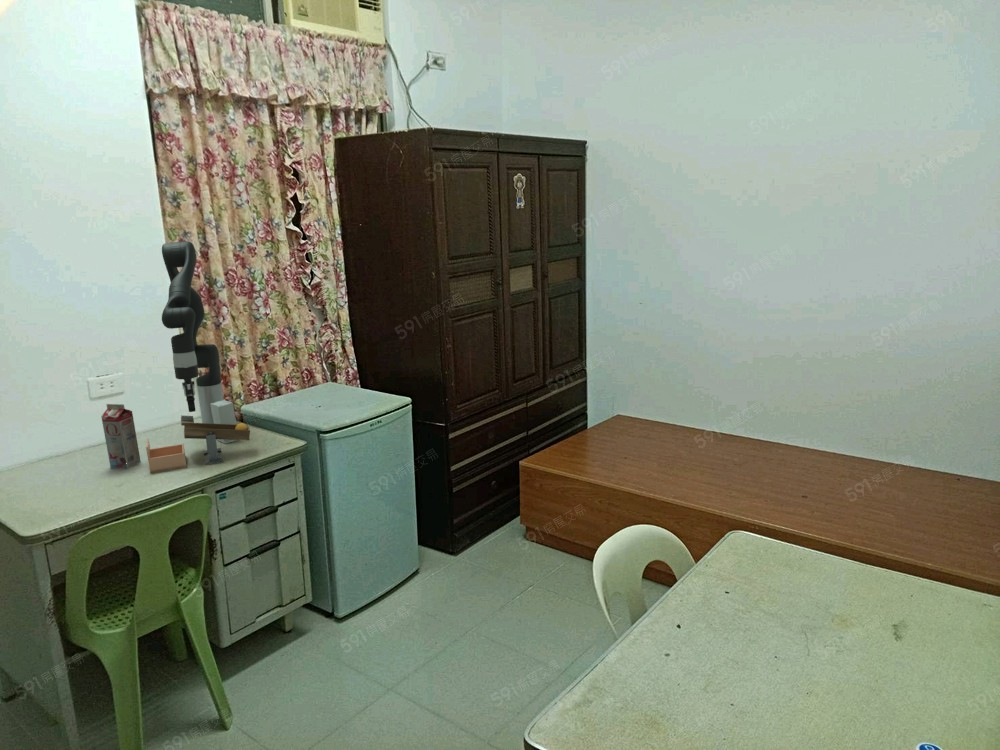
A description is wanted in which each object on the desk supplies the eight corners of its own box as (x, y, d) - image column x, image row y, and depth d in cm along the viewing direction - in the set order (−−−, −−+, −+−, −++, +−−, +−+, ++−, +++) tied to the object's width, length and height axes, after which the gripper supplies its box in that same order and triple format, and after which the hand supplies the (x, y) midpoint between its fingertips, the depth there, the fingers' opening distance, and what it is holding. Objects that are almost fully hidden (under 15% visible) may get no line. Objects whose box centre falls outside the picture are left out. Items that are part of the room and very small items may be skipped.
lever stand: (203, 452, 253) (199, 426, 250) (221, 450, 255) (217, 423, 253) (205, 465, 240) (201, 437, 238) (223, 461, 243) (220, 434, 240)
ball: (234, 433, 251) (234, 422, 250) (246, 432, 253) (246, 421, 252) (235, 436, 248) (235, 425, 247) (247, 435, 249) (247, 424, 248)
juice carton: (127, 468, 240) (116, 407, 234) (110, 468, 241) (99, 406, 236) (140, 461, 246) (130, 401, 241) (124, 461, 247) (113, 401, 242)
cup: (150, 462, 244) (146, 438, 242) (185, 457, 249) (182, 433, 247) (150, 473, 235) (146, 447, 232) (186, 467, 239) (182, 442, 237)
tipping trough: (180, 424, 254) (181, 414, 253) (244, 427, 263) (245, 417, 263) (181, 438, 238) (182, 427, 237) (249, 440, 247) (250, 430, 247)
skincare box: (239, 440, 265) (234, 402, 261) (224, 444, 261) (218, 406, 257) (230, 435, 271) (225, 398, 267) (214, 439, 267) (209, 402, 263)
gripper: (173, 362, 250) (180, 405, 254) (174, 369, 238) (180, 415, 242) (196, 359, 253) (202, 402, 257) (197, 366, 241) (204, 411, 245)
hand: (191, 408), depth 249 cm, fingers open, 8 cm apart
